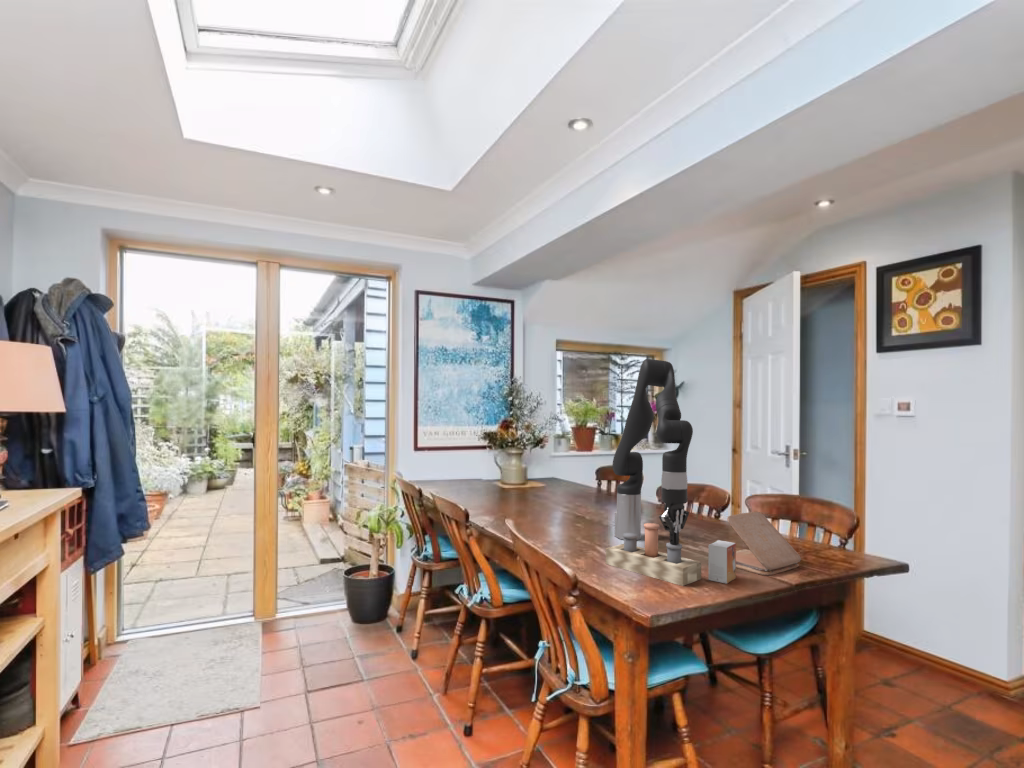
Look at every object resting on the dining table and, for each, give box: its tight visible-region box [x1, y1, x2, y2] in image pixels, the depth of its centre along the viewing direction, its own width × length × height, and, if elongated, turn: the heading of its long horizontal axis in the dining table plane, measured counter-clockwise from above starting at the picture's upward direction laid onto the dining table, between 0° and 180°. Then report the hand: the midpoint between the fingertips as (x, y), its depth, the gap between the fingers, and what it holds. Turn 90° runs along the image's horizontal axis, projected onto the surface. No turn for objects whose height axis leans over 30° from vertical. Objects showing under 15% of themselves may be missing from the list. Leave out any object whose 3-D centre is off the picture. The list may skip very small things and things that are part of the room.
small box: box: [707, 539, 737, 585], centre depth 164 cm, size 8×6×10 cm
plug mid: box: [643, 522, 660, 558], centre depth 171 cm, size 5×5×10 cm
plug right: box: [665, 542, 683, 564], centre depth 165 cm, size 5×5×10 cm
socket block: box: [605, 543, 702, 587], centre depth 171 cm, size 28×10×5 cm, turn 41°
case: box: [726, 511, 802, 577], centre depth 181 cm, size 20×21×16 cm
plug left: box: [623, 533, 638, 552], centre depth 177 cm, size 5×5×10 cm
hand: (674, 544), depth 165 cm, fingers closed
